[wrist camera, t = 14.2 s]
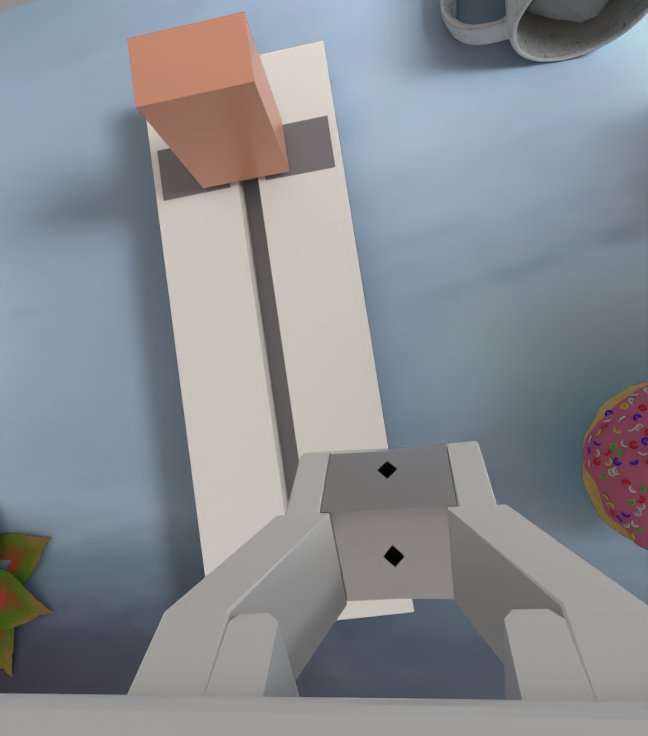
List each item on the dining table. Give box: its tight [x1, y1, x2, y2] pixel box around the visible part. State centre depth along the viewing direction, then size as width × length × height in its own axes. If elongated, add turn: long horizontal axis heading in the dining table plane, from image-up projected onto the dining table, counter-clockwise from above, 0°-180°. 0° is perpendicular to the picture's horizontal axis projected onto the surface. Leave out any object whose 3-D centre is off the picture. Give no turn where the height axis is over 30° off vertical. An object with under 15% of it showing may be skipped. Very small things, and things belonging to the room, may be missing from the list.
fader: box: [127, 12, 289, 188], centre depth 25 cm, size 5×3×10 cm, turn 99°
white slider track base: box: [146, 40, 414, 620], centre depth 30 cm, size 11×32×3 cm, turn 9°
